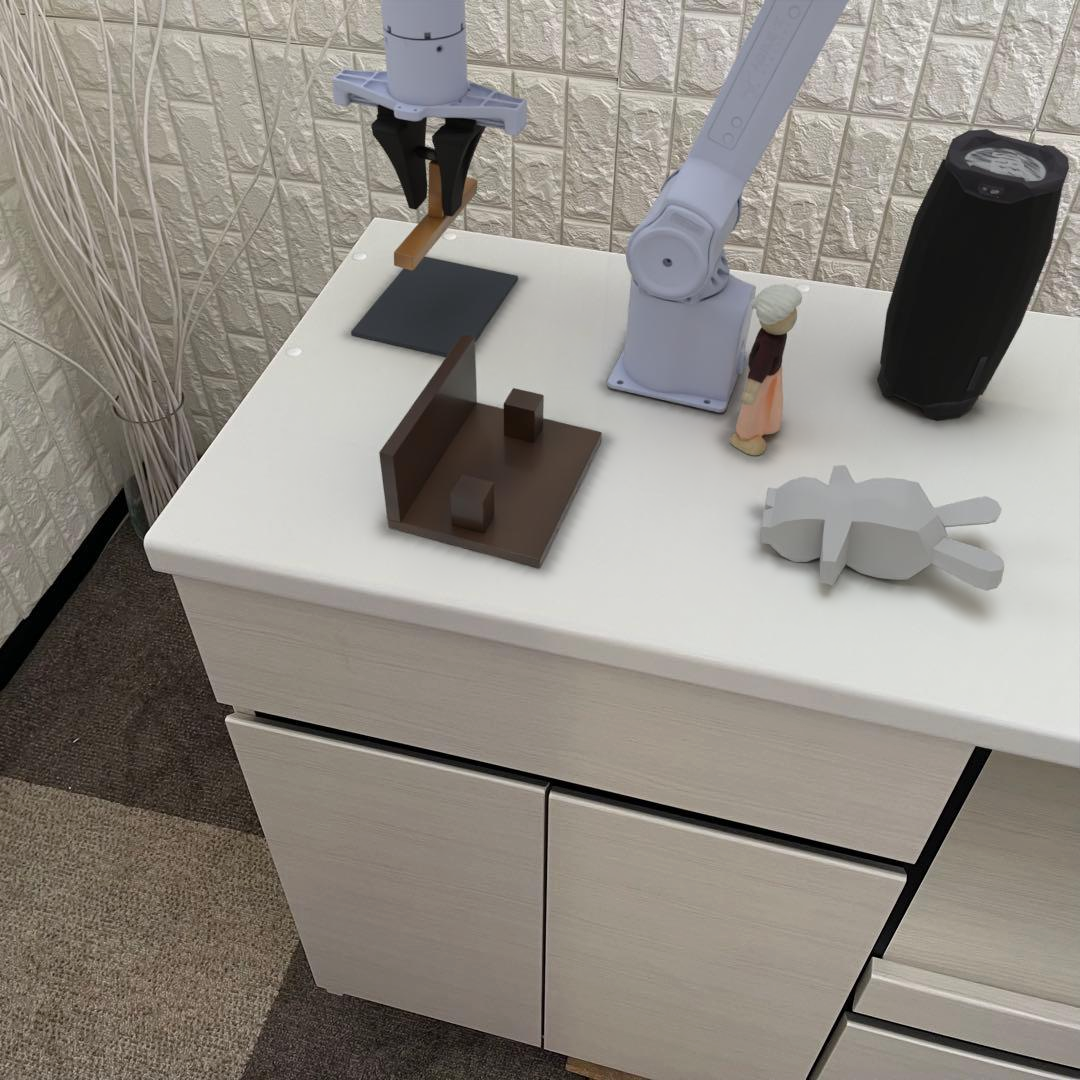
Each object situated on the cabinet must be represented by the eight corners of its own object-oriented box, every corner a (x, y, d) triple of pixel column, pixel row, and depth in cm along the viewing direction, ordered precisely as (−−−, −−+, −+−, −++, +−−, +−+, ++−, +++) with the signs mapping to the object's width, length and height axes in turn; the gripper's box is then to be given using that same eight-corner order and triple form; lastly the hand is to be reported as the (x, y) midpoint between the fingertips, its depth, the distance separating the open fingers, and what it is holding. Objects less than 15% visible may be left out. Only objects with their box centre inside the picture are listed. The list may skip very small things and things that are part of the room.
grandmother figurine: (776, 468, 77) (811, 321, 68) (723, 460, 78) (751, 313, 69) (780, 403, 83) (813, 259, 74) (731, 397, 83) (758, 253, 74)
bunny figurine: (773, 443, 73) (1006, 464, 69) (769, 498, 76) (991, 521, 73) (756, 537, 67) (1012, 566, 63) (753, 593, 70) (995, 623, 66)
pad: (518, 279, 94) (518, 275, 94) (462, 360, 86) (462, 356, 86) (415, 258, 97) (415, 254, 96) (351, 335, 88) (350, 331, 88)
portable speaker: (859, 355, 87) (925, 122, 73) (974, 361, 87) (1062, 128, 73) (876, 420, 81) (952, 180, 67) (999, 427, 81) (1101, 187, 67)
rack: (601, 439, 79) (607, 365, 74) (539, 568, 70) (541, 493, 65) (465, 407, 82) (462, 333, 77) (387, 527, 72) (378, 452, 67)
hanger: (477, 192, 88) (481, 117, 83) (413, 271, 79) (413, 192, 75) (446, 184, 88) (449, 109, 84) (379, 261, 80) (377, 183, 75)
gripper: (302, 29, 72) (327, 213, 82) (502, 61, 69) (503, 249, 78) (349, -5, 77) (367, 173, 86) (538, 24, 73) (535, 205, 83)
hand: (434, 206), depth 83 cm, fingers closed on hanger, 2 cm apart
